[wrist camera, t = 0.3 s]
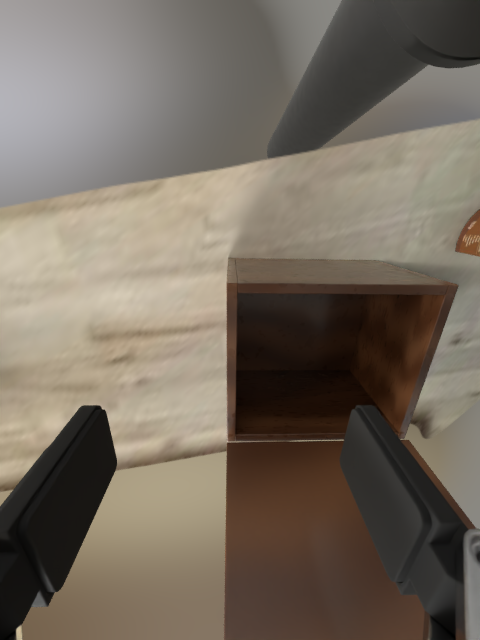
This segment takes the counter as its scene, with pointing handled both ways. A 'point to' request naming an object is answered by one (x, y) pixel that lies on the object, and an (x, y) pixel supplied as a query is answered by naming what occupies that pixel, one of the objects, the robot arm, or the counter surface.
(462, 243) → the food container
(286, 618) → the lid
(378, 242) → the counter surface
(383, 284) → the chest
